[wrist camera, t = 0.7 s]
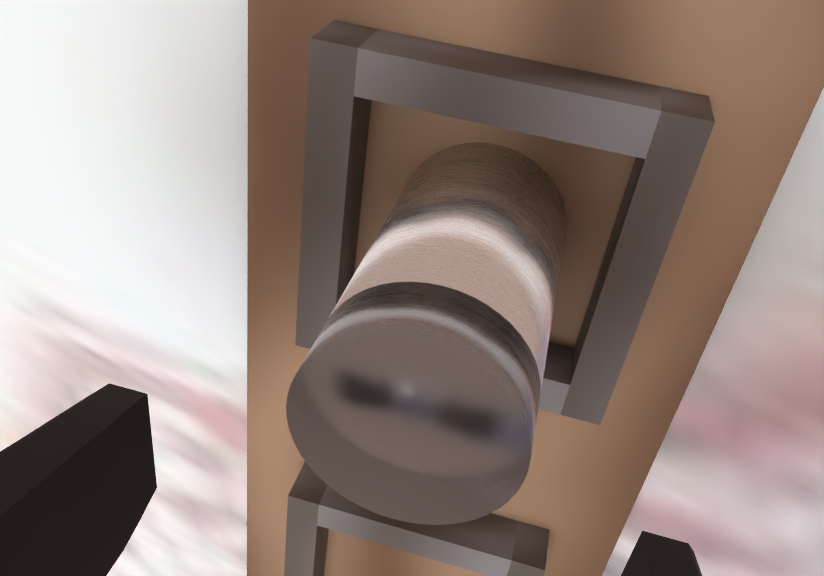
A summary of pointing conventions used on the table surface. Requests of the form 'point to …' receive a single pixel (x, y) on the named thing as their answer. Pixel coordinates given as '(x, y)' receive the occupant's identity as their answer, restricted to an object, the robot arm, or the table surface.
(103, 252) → the table surface
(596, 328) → the dock board
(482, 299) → the metal cylinder
